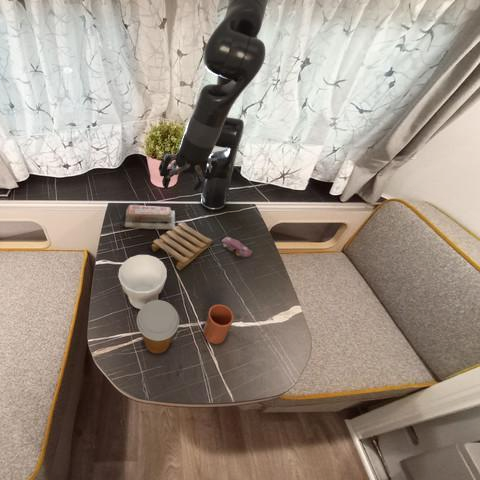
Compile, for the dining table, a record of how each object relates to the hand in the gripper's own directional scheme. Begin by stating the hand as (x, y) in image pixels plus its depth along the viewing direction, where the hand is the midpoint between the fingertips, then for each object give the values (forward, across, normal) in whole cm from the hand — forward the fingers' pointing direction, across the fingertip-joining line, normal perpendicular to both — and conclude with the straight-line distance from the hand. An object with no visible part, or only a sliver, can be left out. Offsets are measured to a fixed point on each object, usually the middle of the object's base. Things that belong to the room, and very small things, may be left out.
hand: (179, 187), depth 75 cm
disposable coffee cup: (+19, +7, +35) cm, 41 cm away
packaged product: (+27, +1, -10) cm, 29 cm away
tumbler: (+16, -7, +35) cm, 40 cm away
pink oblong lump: (+18, -23, +10) cm, 31 cm away
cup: (+22, +9, +22) cm, 32 cm away
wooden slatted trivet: (+22, -7, +5) cm, 24 cm away
